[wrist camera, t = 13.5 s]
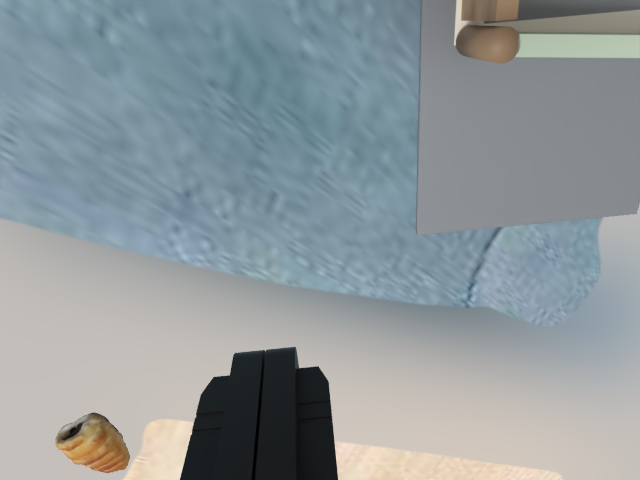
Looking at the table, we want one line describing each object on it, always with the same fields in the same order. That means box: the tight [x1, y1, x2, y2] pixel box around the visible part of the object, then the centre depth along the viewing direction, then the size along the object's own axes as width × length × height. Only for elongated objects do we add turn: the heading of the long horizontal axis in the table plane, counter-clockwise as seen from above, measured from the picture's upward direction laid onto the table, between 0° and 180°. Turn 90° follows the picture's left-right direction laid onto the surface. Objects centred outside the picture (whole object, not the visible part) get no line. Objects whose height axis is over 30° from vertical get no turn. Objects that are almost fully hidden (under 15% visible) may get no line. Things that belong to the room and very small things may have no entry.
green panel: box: [456, 25, 640, 64], centre depth 34 cm, size 18×2×7 cm, turn 89°
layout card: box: [416, 0, 640, 235], centre depth 38 cm, size 23×33×1 cm
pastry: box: [56, 413, 130, 473], centre depth 55 cm, size 9×7×4 cm
